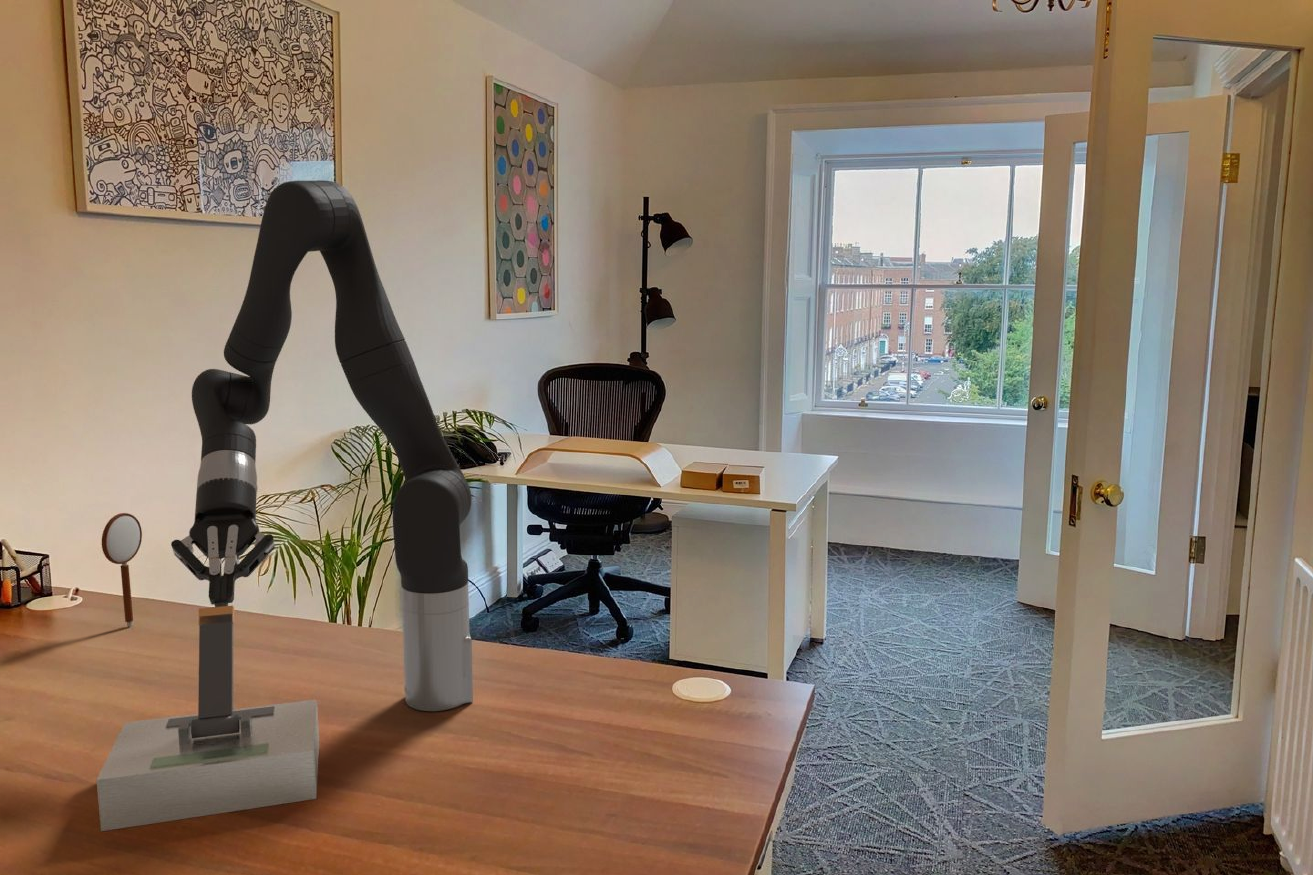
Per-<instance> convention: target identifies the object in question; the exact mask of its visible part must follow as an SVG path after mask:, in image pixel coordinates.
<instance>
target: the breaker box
mask: <svg viewBox="0 0 1313 875" xmlns="http://www.w3.org/2000/svg"><path fill="white" fill-rule="evenodd" d="M238 713H239V715H240V732H239V733H232V734H224V735H216V736H208V737H200V738H192V736H191V722H192V719H197V718H198V713H191V714H185V715H177V716H176V715H175V716H174V715H173V716H168V717H159V718H151V719H143V720H136V721H135V720H134V721H126V722H124V723H123V725H122V727H121V729H120V731H119V734H118V736H117V738H116V739H115V742H114V744H113V746H112V748H111V750H110V751H109V754H108V756H107V758H106V759H105V762H104V764H103V766H102V768H101V770H100V772H99V774H98V776H97V778H96V781H95V782H96V791H97V792H96V793H97V802H98V811H99V812H98V814H99V821H100V822H99V823H100V824H99V825H100V831H101V832H105V831H113V830H118V829H125V828H130V827H131V828H133V827H138V826H145V825H151V824H152V825H153V824H158V823H165V822H171V821H178V820H185V819H192V818H197V817H198V818H199V817H204V816H205V817H206V816H211V815H212V816H213V815H217V814H225V813H231V812H239V811H244V810H252V809H257V808H264V807H270V806H278V805H282V804H290V803H296V802H303V801H310V800H316V799H317V790H318V773H319V772H318V770H319V751H320V733H319V731H320V730H319V715H318V714H319V713H318V700H317V699H309V700H302V701H292V702H285V703H284V702H283V703H275V704H267V705H259V706H251V707H250V706H249V707H242V708H241V707H240V708H235V709H234V708H233V714H238Z"/></svg>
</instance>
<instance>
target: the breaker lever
mask: <svg viewBox="0 0 1313 875" xmlns="http://www.w3.org/2000/svg"><path fill="white" fill-rule="evenodd" d="M234 624H235V606H234V605H228V606H221V607H215V606H214V607H202V608H201V607H200V608H198V626H199V632H198V633H199V634H198V640H199V642H198V643H199V644H198V706H197V707H198V708H197V709H198V713H197V714H198V718H197V719H192V722H191V736H192V738H200V737H208V736H216V735H224V734H232V733H239V732H240V715H239V713H238V714H233V709H234Z"/></svg>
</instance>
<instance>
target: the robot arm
mask: <svg viewBox="0 0 1313 875" xmlns="http://www.w3.org/2000/svg"><path fill="white" fill-rule="evenodd" d="M310 252H320V254H321V257H322V258H323V260H324V262H325V264H326V266H327V270H328V273H329V275H330V277H331V280H332V283H333V287H334V292H335V318H334V346H335V351H336V355H337V358H338V360H339V361H338V362H339V363H340V365H341V368H342V370H343V372H344V375H345V378H346V380H347V382H348V385H349V388H350V389H351V391H352V394H353V395H354V397H355V399H356V400H357V402H358V403H359V405H360V406H361V407H362V409H363V411H365V413H366V414H367V415H368V416H369V418H370V419H371V421H373V423H374V424H375V425H376V426H377V428H378V429H379V430H380V431H381V432H382V433H383V435H384V436H385V437H386V438H387V440H388V442H389V443H390V445H391V447H392V449H393V451H394V454H395V456H396V457H397V460H398V462H399V465H400V467H401V471H402V474H403V476H404V479H405V483H404V484H402V485H401V487H399V489H398V490H397V492H396V493H395V497H394V499H393V506H392V530H393V545H394V546H393V547H394V557H395V564H396V567H397V571H398V572H399V574H400V583H401V586H400V587H401V609H402V611H401V612H402V639H403V640H402V641H403V668H404V672H403V673H404V696H405V697H404V698H405V699H404V700H405V703H406V705H407V706H408V707H410V708H412V709H415V710H418V711H423V712H425V711H426V712H441V711H446V710H451V709H455V708H457V707H460V706H462V705H464V704H468V703H473V702H474V686H473V685H474V683H473V680H474V679H473V676H474V673H473V641H472V640H473V639H472V637H471V633H470V603H469V602H470V599H469V594H470V593H469V567H468V563H467V562H466V560H465V559H463V557H462V548H461V546H462V545H461V524H462V523H463V522H464V521H465V520H466V519H467V517H468V516H469V513H470V512H471V508H472V500H473V499H472V493H471V492H472V491H471V488H470V485H469V483H468V481H467V479H466V477H465V474H463V471H462V470H461V468H460V466H459V464H458V462H457V461H456V458H455V456H454V455H453V453H452V451H451V449H450V447H449V445H448V443H447V442H446V440H445V438H444V435H443V434H442V431H441V429H440V427H439V424H438V421H437V419H436V417H435V414H434V411H433V408H432V404H431V402H430V400H429V397H428V395H427V392H426V390H425V387H424V385H423V383H422V380H421V377H420V375H419V372H418V369H417V366H416V364H415V363H416V362H415V360H414V359H413V356H412V354H411V351H410V349H409V348H410V347H409V346H408V342H407V341H406V338H405V336H404V333H403V332H402V330H401V328H400V326H399V323H398V322H397V318H396V315H395V314H394V311H393V309H392V306H391V303H390V301H389V297H388V295H387V292H386V290H385V288H384V284H383V281H382V279H381V277H380V275H379V270H378V269H377V266H376V263H375V259H374V256H373V253H372V252H373V251H372V249H371V245H370V242H369V239H368V236H367V231H366V229H365V224H364V221H363V218H362V215H361V212H360V210H359V207H358V205H357V203H356V201H355V199H354V198H353V196H352V194H351V193H350V192H349V191H348V189H347V188H345V187H344V186H343V185H341V184H340V183H338V182H336V181H332V180H323V179H322V180H320V179H319V180H292V181H291V180H290V181H285V182H282V183H280V184H278V185H277V186H276V187H275V188H274V189H272V191H271V193H270V194H269V196H268V199H267V201H266V204H265V206H264V210H263V212H262V218H261V221H260V226H259V232H258V236H257V243H256V246H255V251H254V256H253V260H252V265H251V270H250V274H249V280H248V283H247V284H248V285H247V288H246V291H245V295H244V298H243V301H242V304H241V306H240V308H239V309H240V310H239V311H238V314H237V316H236V318H235V321H234V323H233V326H232V328H231V331H230V333H229V335H228V338H227V340H226V342H225V345H224V347H223V356H224V360H225V361H226V363H227V364H228V365H229V366H231V368H233V369H234V370H237V371H238V372H240V373H242V374H239V373H234V372H232V371H231V372H230V371H228V370H227V371H226V370H222V369H219V368H218V369H217V368H209V369H205V370H203V371H202V372H200V373H199V375H197V377H196V378H195V380H194V382H193V384H192V388H191V403H192V407H193V411H194V414H195V418H196V421H197V423H198V428H199V431H200V436H201V451H200V452H201V455H200V463H199V464H200V466H199V468H198V469H199V470H198V474H197V479H196V480H197V481H196V483H197V484H196V495H195V498H196V499H195V509H194V510H195V512H194V522H193V525H192V526H191V528H189V533H188V536H185V537H184V538H183V539H181V540H180V539H174V540H172V541H171V545H170V546H171V548H172V551H173V555H174V556H175V557H176V558H177V559H178V560H179V561H180V562H181V564H183V565H184V566H185V568H186V569H188V571H190V573H191V574H192V575H193V576H194V577H196V579H198V580H199V581H205V580H206V581H208V582H209V584H208V585H209V586H208V598H209V602H210V605H214V607H221V606H229V604H232V603H233V602H234V599H235V588H236V587H235V584H236V581H237V579H239V578H242V577H243V578H248V577H249V576H250V575H252V574H253V572H255V571H256V569H257V568H258V567H259V566H260V565H261V564H262V562H264V560H266V558H268V556H269V555H270V554H271V552H272V551H274V550H275V548H276V545H275V540H274V536H273V535H272V534H270V533H269V534H265V533H263V532H261V531H260V528H259V524H258V523H257V521H256V520H257V493H258V475H257V469H256V456H257V453H256V452H257V436H256V434H255V431H254V429H252V428H251V427H250V426H249V425H255V424H257V423H259V422H262V420H263V419H265V417H266V416H267V414H268V413H269V409H270V405H271V404H270V403H271V390H272V388H271V387H272V381H273V380H272V378H273V375H274V370H275V366H276V363H277V361H278V359H279V356H280V355H281V354H280V353H281V351H282V349H283V347H284V344H285V343H286V341H287V339H288V336H289V333H290V328H291V325H292V316H293V315H292V314H293V312H292V302H291V285H292V281H293V278H294V275H295V273H296V271H297V269H298V268H299V265H300V264H301V262H302V261H303V259H304V258H305V257H306V255H307V254H308V253H310ZM243 374H244V375H243ZM253 544H254V546H253V548H252V549H251V550H250V551H249V552H248V553H247V554H246V556H244V557H243V558H242V559H241V561H240V557H241V556H243V554H245V552H246V551H248V549H249V548H250V547H251V545H253ZM193 545H195V546H196V548H198V550H199V551H200V552H201V553H202V554H203V555H204V556H205V557H206V558H208V566H205V565H204V563H203V562H202V561H200V559H199V558H198V557H197V556H196V555H195V554H194V551H195V550H194V546H193ZM222 559H224V566H223V565H222V564H223V561H222ZM222 566H223V569H222ZM222 572H223V573H222ZM222 574H223V575H222Z"/></svg>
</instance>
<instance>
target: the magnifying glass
mask: <svg viewBox="0 0 1313 875" xmlns="http://www.w3.org/2000/svg"><path fill="white" fill-rule="evenodd" d="M101 534H102V535H101V549H102V553H103V555H104V557H105V558H106V560H108V561H109V562H111V563H113V564H116V565H120V574H121V586H122V597H123V598H122V599H123V600H122V601H123V608H124V610H123V611H124V620H125V621H124V622H125V623H126V626H127V627H132V625H133V621H134V616H133V614H134V613H133V605H132V604H133V601H132V589H131V581H130V580H131V579H130V578H131V577H130V567H129V564H128V563H129V562H130V561H131V560H133V558H134V557H136V556H137V554H138V552H139V549H140V548H141V544H142V540H143V539H142V538H143V537H142V536H143V531H142V526H141V524H140V521H139V519H138V518H137V517H135V515H133V514H131V513H127V512H123V513H122V512H121V513H118V514H116V515H113V517H111V518H110V519H109V520H108V521H107V523H106V524H105V527H104V528H103V531H102V533H101Z"/></svg>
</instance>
